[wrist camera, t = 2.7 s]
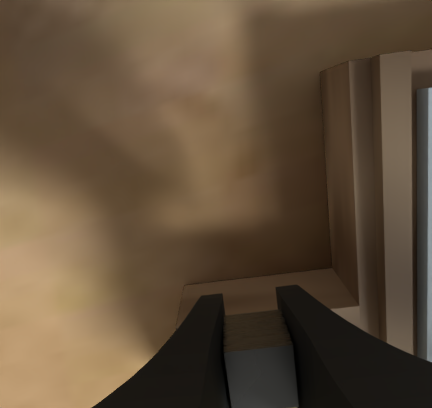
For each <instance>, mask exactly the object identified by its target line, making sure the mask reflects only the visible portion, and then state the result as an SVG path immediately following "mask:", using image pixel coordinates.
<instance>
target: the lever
mask: <svg viewBox="0 0 432 408" xmlns="http://www.w3.org/2000/svg"><path fill="white" fill-rule="evenodd" d="M223 340H224V358H225V365H226V372H227V379H228V385H229V392H230V399H231V406H232V408H296V407H299V403H298V393H297V382H296V372H295V361H294V350H293V343H292V340H291V337H290V334H289V331H288V328H287V324H286V321H285V318H284V316H283V314H282V311H281V309H277V310H268V311H260V312H251V313H242V314H233V315H225V316H224V321H223Z"/></svg>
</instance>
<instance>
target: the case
mask: <svg viewBox="0 0 432 408" xmlns="http://www.w3.org/2000/svg"><path fill="white" fill-rule="evenodd" d="M320 81H321V97H322V113H323V130H324V146H325V162H326V178H327V194H328V211H329V227H330V243H331V259H332V268H328V269H319V270H311V271H302V272H294V273H285V274H277V275H269V276H260V277H252V278H243V279H235V280H226V281H218V282H209V283H201V284H192V285H184V289H183V294H182V299H181V304H180V309H179V314H178V318H177V323H176V330H177V328H178V327H179V326H180V324H181V323H182V322H183V321H184V319H185V318H186V316H187V315H188V313H189V312H190V311H191V309H192V308H193V306H194V305H195V303H196V302H197V300H198V299H199V298H200V297H201V296H202V295H211V294H219V293H222V294H223V301H224V308H225V315H233V314H242V313H251V312H260V311H268V310H277V309H278V307H277V297H276V288H275V287H279V286H288V285H296V284H297V285H299V286H300V287H301V288H303V289H304V290H305V291H306V292H308V293H309V294H310V295H311V296H313V297H314V298H315V299H317V300H318V301H319V302H321V303H322V304H323V305H325V306H326V307H328V308H329V309H330V310H332V311H333V312H335V313H336V314H338V315H339V316H341V317H342V318H344V319H345V320H347V321H348V322H350V323H352V324H353V325H355V326H357V327H358V328H360V329H362V330H363V331H365V332H367V333H369V334H370V335H372V336H374V337H376V338H378V339H380V340H382V341H384V342H386V343H388V344H390V345H392V346H394V347H396V348H398V349H401V350H403V351H405V352H407V353H410V354H412V355H414V356H417V89H424V88H432V49H431V50H423V51H416V52H411V50H409V51H402V52H395V53H388V54H381V55H377V56H375V57H372V58H366V59H359V60H352V61H347V62H345V63H342V64H340V65H337V66H334V67H332V68H329V69H327V70H324V71H322V72H320ZM296 408H297V407H296Z"/></svg>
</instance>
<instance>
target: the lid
mask: <svg viewBox="0 0 432 408" xmlns="http://www.w3.org/2000/svg"><path fill="white" fill-rule="evenodd" d="M417 357H419V358H422V359H424V360H427V361H430V362H432V88H424V89H417Z"/></svg>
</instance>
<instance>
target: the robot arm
mask: <svg viewBox="0 0 432 408" xmlns="http://www.w3.org/2000/svg"><path fill="white" fill-rule="evenodd" d="M275 288H276V297H277V307H278V309H281V311H282V314H283V316H284V318H285V321H286V324H287V328H288V331H289V334H290V337H291V340H292V343H293V350H294V361H295V372H296V382H297V393H298V403H299V407H297V408H432V362H430V361H427V360H424V359H422V358H419V357H417V356H414V355H412V354H410V353H407V352H405V351H403V350H401V349H398V348H396V347H394V346H392V345H390V344H388V343H386V342H384V341H382V340H380V339H378V338H376V337H374V336H372V335H370V334H369V333H367V332H365V331H363V330H362V329H360V328H358V327H357V326H355V325H353V324H352V323H350V322H348V321H347V320H345V319H344V318H342V317H341V316H339V315H338V314H336V313H335V312H333V311H332V310H330V309H329V308H328V307H326V306H325V305H323V304H322V303H321V302H319V301H318V300H317V299H315V298H314V297H313V296H311V295H310V294H309V293H308V292H306V291H305V290H304V289H303V288H301V287H300V286H299V285H297V284H296V285H288V286H279V287H275ZM224 316H225V308H224V301H223V294H222V293H219V294H211V295H202V296H201V297H200V298H199V299H198V300H197V302H196V303H195V305H194V306H193V308H192V309H191V311H190V312H189V313H188V315H187V316H186V318H185V319H184V321H183V322H182V323H181V324H180V326H179V327H178V328H177V330H176V331H175V332H174V334H173V335H172V336H171V337H170V339H169V340H168V341H167V342H166V343H165V344H164V346H163V347H162V348H161V349H160V350H159V351H158V353H157V354H156V355H155V356H154V357H153V358H152V359H151V360H150V361H149V362H148V363H147V364H146V365H144V366H143V367H142V368H141V369H140V370H139V371H138V372H137V373H136V374H135V375H134V376H132V377H131V378H130V379H129V380H128V381H126V382H125V383H124V384H123V385H121V386H120V387H119V388H117V389H116V390H115V391H114V392H112V393H111V394H110V395H108V396H107V397H106V398H104V399H103V400H102V401H101V402H99V403H98V404H96V405H95V406H94V407H92V408H232V406H231V399H230V392H229V385H228V379H227V372H226V365H225V358H224V340H223V321H224Z"/></svg>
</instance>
